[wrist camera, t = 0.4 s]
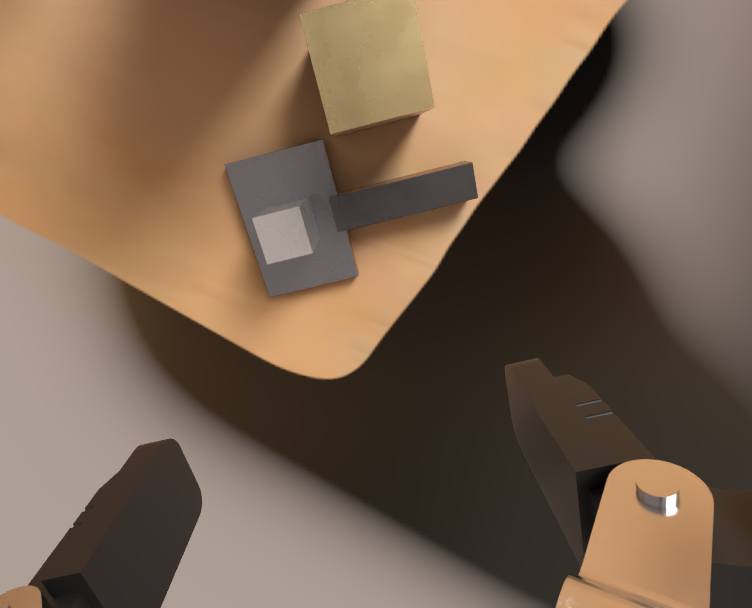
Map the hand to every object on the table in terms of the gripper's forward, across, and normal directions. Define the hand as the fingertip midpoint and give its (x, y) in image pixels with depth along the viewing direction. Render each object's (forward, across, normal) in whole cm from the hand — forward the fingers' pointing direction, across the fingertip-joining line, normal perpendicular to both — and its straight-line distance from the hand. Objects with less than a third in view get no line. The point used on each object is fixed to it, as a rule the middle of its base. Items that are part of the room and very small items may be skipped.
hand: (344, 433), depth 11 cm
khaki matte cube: (+25, -3, -10) cm, 27 cm away
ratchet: (+25, -1, -2) cm, 25 cm away
